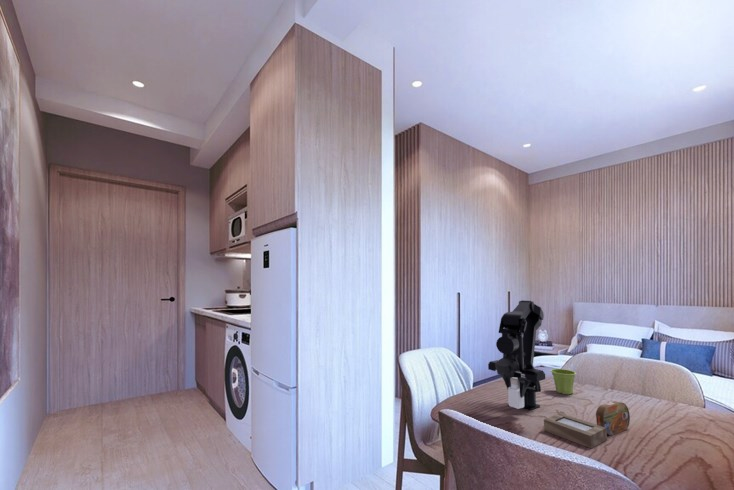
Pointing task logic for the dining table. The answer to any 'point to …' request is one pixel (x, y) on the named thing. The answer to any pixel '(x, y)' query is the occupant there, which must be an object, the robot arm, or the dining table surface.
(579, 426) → the white flat block
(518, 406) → the pepper shaker
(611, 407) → the tin
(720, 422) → the dining table surface
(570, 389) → the plant pot
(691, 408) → the dining table surface
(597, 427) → the guide block
